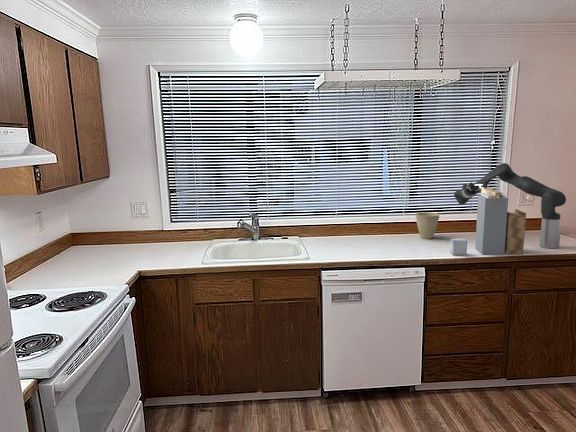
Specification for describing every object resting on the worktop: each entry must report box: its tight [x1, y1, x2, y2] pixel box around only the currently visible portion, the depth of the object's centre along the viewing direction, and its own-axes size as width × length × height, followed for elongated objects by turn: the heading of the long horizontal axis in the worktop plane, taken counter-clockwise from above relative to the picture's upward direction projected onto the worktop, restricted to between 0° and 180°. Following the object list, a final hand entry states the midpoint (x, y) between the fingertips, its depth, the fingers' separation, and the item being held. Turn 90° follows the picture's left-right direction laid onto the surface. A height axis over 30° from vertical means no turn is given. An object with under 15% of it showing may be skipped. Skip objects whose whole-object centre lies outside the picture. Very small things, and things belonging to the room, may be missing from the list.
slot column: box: [474, 192, 509, 256], centre depth 246 cm, size 12×12×34 cm
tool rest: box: [504, 208, 527, 255], centre depth 247 cm, size 9×12×24 cm
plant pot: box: [415, 211, 440, 240], centre depth 285 cm, size 15×15×16 cm
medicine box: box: [449, 238, 468, 256], centre depth 245 cm, size 8×4×9 cm, turn 90°
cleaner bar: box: [480, 187, 504, 199], centre depth 244 cm, size 4×26×4 cm, turn 174°
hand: (478, 183), depth 269 cm, fingers open, 8 cm apart
